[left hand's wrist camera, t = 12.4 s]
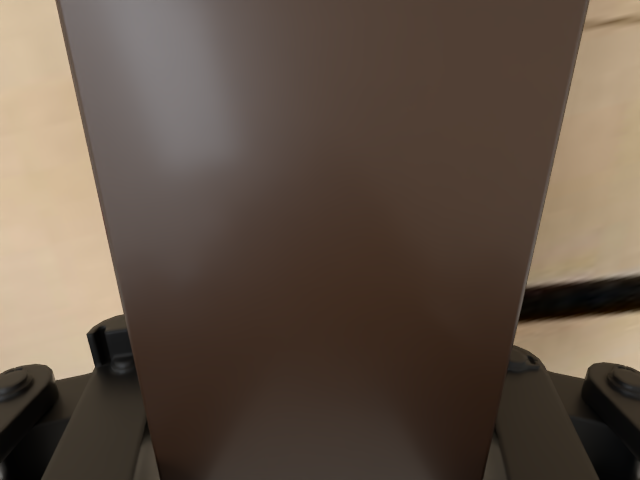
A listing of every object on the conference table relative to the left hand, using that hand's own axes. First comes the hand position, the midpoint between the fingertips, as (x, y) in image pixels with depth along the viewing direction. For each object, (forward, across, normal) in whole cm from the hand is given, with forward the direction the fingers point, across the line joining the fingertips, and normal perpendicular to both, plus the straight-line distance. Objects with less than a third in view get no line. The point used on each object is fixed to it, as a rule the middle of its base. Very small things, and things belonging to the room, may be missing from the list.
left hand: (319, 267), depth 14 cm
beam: (+1, 0, -11) cm, 11 cm away
